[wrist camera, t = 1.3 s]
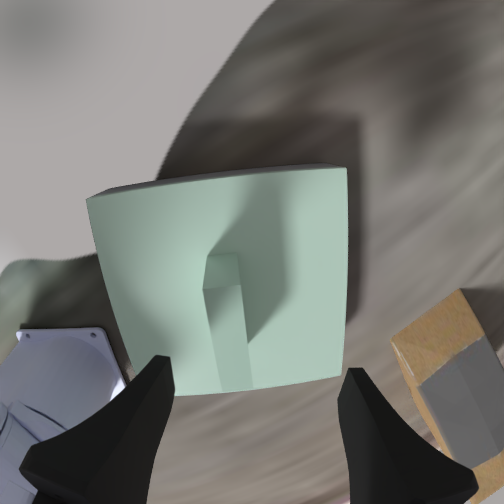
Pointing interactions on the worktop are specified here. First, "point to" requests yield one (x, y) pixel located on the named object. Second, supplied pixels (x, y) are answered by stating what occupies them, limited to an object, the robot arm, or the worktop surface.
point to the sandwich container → (457, 387)
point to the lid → (230, 276)
